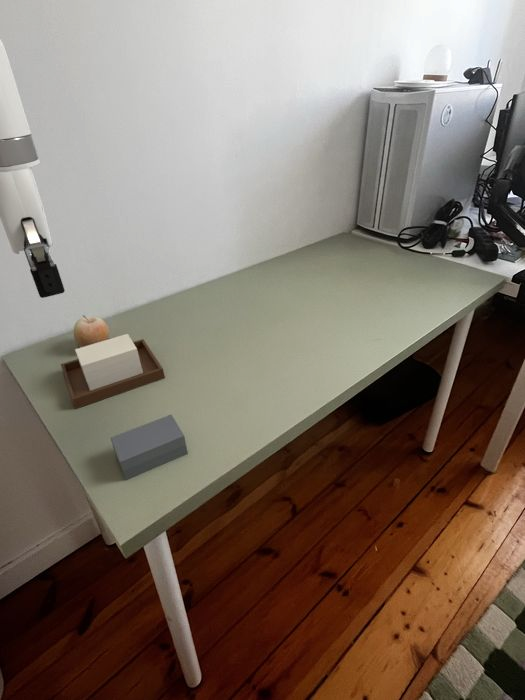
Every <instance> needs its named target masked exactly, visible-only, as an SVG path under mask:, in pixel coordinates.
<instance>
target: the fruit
mask: <svg viewBox="0 0 525 700" xmlns="http://www.w3.org/2000/svg"><path fill="white" fill-rule="evenodd" d="M109 337H110V330H109V326H108V324H107V323H106V321H104V319H102V318H100V317H98V316H97V317H96V316H85V314H83V315H82V317H81V318H79V319H78V320H77V321H76V322H75V324H74V326H73V338H74V341H75V343H76V344H77V346H78V347H79V348H81V347H85V346H88V345H91V344H95V343H98V342H102V341H105V340H108V339H110V338H109Z"/></svg>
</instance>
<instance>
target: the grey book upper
mask: <svg viewBox="0 0 525 700" xmlns="http://www.w3.org/2000/svg"><path fill="white" fill-rule="evenodd" d="M110 441H111V444H112V447H114V448H113V451H114V450H115V451H114V453H116V454H115V456H116V455H117V456H116V459H117V458H118V459H117V461H118V460H119V462H118V464H119V463H120V464H119V466H120V465H121V467H120V469H121V468H122V469H121V471H122V470H123V471H124V470H127V469H129V468H131V467H134V466H136V465H139V464H141V463H143V462H146V461H148V460H150V459H153V458H155V457H158V456H160V455H162V454H165V453H167V452H169V451H172V450H174V449H177V448H179V447H181V446H184V445H186V446H187V441H186V437H185V434H184V432H183V431H182V429H181V427H180V426H179V424H178V423H177V421H176V419H175V418H174V416H173V414H168V415H166V416H163V417H160V418H158V419H155V420H152V421H149V422H147V423H145V424H142V425H140V426H137V427H135V428H132V429H129V430H127V431H124V432H121V433H119V434H116V435H114V436H110Z"/></svg>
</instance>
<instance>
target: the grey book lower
mask: <svg viewBox="0 0 525 700" xmlns="http://www.w3.org/2000/svg"><path fill="white" fill-rule="evenodd" d="M112 447H113V446H112ZM113 451H114V453H115V450H114V447H113ZM186 455H188V446H187V444H186V445H184V446H181V447H179V448H177V449H174V450H172V451H169V452H167V453H165V454H162V455H160V456H158V457H155V458H153V459H150V460H148V461H146V462H143V463H141V464H139V465H136V466H134V467H131V468H129V469H127V470H124V471H123V470H122V468H121V465H120V463H119V460H118V458H117V455H116V453H115V456H116V459H117V461H118V464H119V467H120V469H121V472H122V475H123V477H124V479H125V481H128V480H130V479H132V478H134V477H137V476H139V475H141V474H143V473H146V472H148V471H151V470H152V469H156V468H158V467H160V466H162V465H164V464H166V463H169V462H171V461H174V460H176V459H178V458H181V457H183V456H186Z"/></svg>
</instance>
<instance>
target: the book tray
mask: <svg viewBox="0 0 525 700" xmlns="http://www.w3.org/2000/svg"><path fill="white" fill-rule="evenodd" d="M132 342H133V343H134V345H135V346H136V348H137V351H138V355H139V359H140V363H141V367H142V371H143V373H142V374H139V375H136V376H133V377H130V378H127V379H124V380H121V381H118V382H115V383H112V384H109V385H106V386H103V387H100V388H97V389H94V390H91V391H90V390H89V387H88V384H87V382H86V379H85V377H84V374H83V371H82V368H81V366H80V363H79V360H78V358H76V359H73V360H69V361H66V362H63V363H60V367H61V370H62V373H63V376H64V379H65V383H66V385H67V389H68V392H69V395H70V398H71V401H72V404H73V407H74V409H75V410H77V409H81V408H84V407H86V406H89V405H92V404H95V403H97V402H100V401H103V400H105V399H108V398H111V397H114V396H117V395H120V394H123V393H126V392H128V391H129V392H130V391H131V390H134V389H138V388H140V387H144V386H146V385H149V384H152V383H154V382H157V381H160V380H164V379H165V378H166V375H165V372H164V368H163V366H162V365H161V363H160V362H159V360H158V358H157V357H156V356H155V354H154V353H153V351H152V350H151V348H150V347H149V345H148V343H147V342H146V341H145V339H144V338H142V339H138V340H135V341H132Z"/></svg>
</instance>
